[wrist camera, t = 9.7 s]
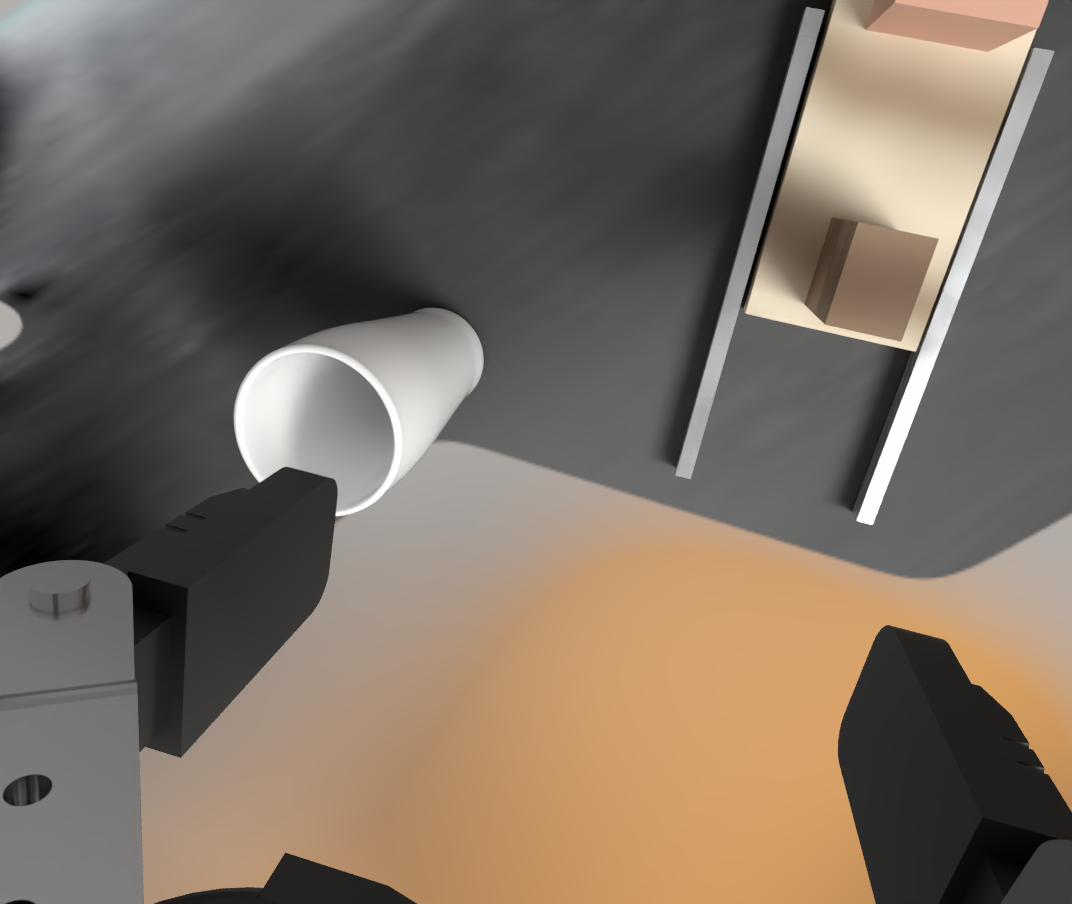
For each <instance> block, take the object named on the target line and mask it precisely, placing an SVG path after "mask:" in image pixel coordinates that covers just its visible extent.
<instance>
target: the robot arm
mask: <svg viewBox="0 0 1072 904" xmlns="http://www.w3.org/2000/svg"><path fill="white" fill-rule="evenodd" d="M337 497H338V489H337V484H336V481H335V480H334V479H333V478H329V477H325V476H321V475H317V474H314V473H310V472H306V471H302V470H298V469H294V468H291V467H283V468H281V469H279V470H278V471H276V472H275V473H273V474H272V475H270V476H269V477H267V478H266V479H264V480H263V481H261V482H260V483H258V484H257V485H255V486H254V487H252V488H251V489H245V488H241V489H237V490H234V491H230V492H226V493H223V494H219V495H216V496H212V497H209V498H207V499H206V500H204V501H203V502H201V503H200V504H198V505H196V506H195V507H193V508H192V509H190V510H188V511H187V512H186V514H185V516H183V515H180V516H179V517H177V518H176V519H174V520H172V521H171V522H169V523H168V524H166V527H165V528H160V529H158V530H156V531H155V532H153V533H152V534H150V535H149V536H147V537H145V538H144V539H142V540H141V541H139V542H137V543H136V544H134V545H133V546H131V547H129V548H128V549H126V550H125V551H123V552H121V553H120V554H118V555H117V556H115V557H113V558H112V559H110V560H109V561H107V562H105V563H104V564H101V563H97V562H90V561H78V560H67V561H53V562H46V563H40V564H36V565H32V566H28V567H25V568H22V569H19V570H16V571H14V572H11V573H9V574H7V575H5V576H3V577H2V578H0V904H144V895H143V894H144V893H143V861H142V826H141V793H140V761H139V752H140V751H141V750H142V749H143V748H144V747H148V748H151V749H155V750H158V751H161V752H164V753H167V754H170V755H174V756H177V757H180V758H181V757H182V756H183V755H184V754H185V752H186V751H187V750H188V749H189V748H190V747H191V746H192V745H193V744H194V743H195V742H196V740H197V739H198V738H199V737H200V736H201V735H202V734H203V733H204V732H205V730H206V729H207V728H208V727H209V726H210V725H211V724H212V723H213V722H214V721H215V719H216V718H217V717H218V716H219V715H220V714H221V713H222V712H223V711H224V709H225V708H226V707H227V706H228V705H229V704H230V703H231V702H232V700H234V698H235V697H236V696H237V695H238V694H239V693H240V692H241V691H242V690H243V689H244V687H245V686H246V685H247V684H248V683H249V682H250V681H251V680H252V679H253V678H254V676H255V675H256V674H257V673H258V672H259V671H260V670H261V668H262V667H263V666H264V665H265V664H266V663H267V662H268V661H269V660H270V659H271V658H272V656H273V655H274V654H275V653H276V652H277V651H278V650H279V649H280V648H281V647H282V646H283V644H284V643H285V642H286V641H287V640H288V639H289V638H290V637H291V636H292V634H293V633H294V632H295V631H296V630H297V629H298V628H299V627H300V626H301V625H302V623H303V622H304V621H305V620H306V619H307V618H308V617H309V616H310V615H311V614H312V612H313V611H314V609H315V608H316V607H317V605H318V603H319V601H320V599H321V597H322V595H323V592H324V589H325V586H326V583H327V580H328V575H329V567H330V559H331V550H332V540H333V532H334V524H335V515H336V507H337ZM838 758H839V764H840V768H841V772H842V776H843V779H844V784H845V787H846V791H847V795H848V799H849V802H850V806H851V810H852V814H853V818H854V822H855V825H856V829H857V833H858V837H859V841H860V845H861V849H862V852H863V856H864V860H865V864H866V868H867V871H868V875H869V879H870V883H871V887H872V891H873V894H874V898H875V902H876V904H1072V812H1071V810H1070V809H1069V807H1068V806H1067V804H1066V802H1065V801H1064V799H1063V798H1062V796H1061V794H1060V793H1059V791H1058V789H1057V788H1056V786H1055V785H1054V783H1053V781H1052V780H1051V778H1050V776H1049V775H1047V774H1044V767H1043V765H1042V763H1041V762H1040V760H1039V759H1038V757H1037V755H1036V754H1035V752H1034V751H1033V750H1031V749H1029V743H1028V741H1027V739H1026V738H1025V736H1024V734H1023V733H1022V731H1021V730H1020V728H1019V727H1018V725H1017V723H1016V721H1015V720H1014V718H1013V717H1012V715H1011V714H1010V713H1009V712H1008V711H1007V710H1006V709H1004V708H1003V707H1002V706H1001V705H1000V704H999V703H998V702H997V701H996V700H995V699H994V698H993V697H991V696H990V695H989V694H988V693H987V692H986V691H985V690H984V689H983V688H982V687H981V686H977V685H974V684H971V682H970V680H969V679H968V677H967V675H966V673H965V672H964V670H963V668H962V666H961V665H960V663H959V661H958V659H957V658H956V656H955V654H954V653H953V651H952V649H951V647H950V646H949V644H948V643H947V642H946V641H945V640H943V639H939V638H935V637H932V636H928V635H924V634H920V633H916V632H912V631H909V630H905V629H901V628H897V627H893V626H889V625H887V626H885V627H883V628H882V629H881V630H880V632H879V633H878V634H877V636H876V638H875V640H874V642H873V645H872V647H871V650H870V652H869V655H868V657H867V660H866V662H865V664H864V667H863V669H862V672H861V674H860V677H859V679H858V682H857V684H856V687H855V689H854V692H853V694H852V696H851V699H850V701H849V704H848V706H847V709H846V712H845V714H844V717H843V720H842V723H841V727H840V733H839V740H838ZM155 904H416V903H415V902H413V901H412V900H410V899H408V898H407V897H405V896H404V895H402V894H400V893H399V892H397V891H395V890H394V889H392V888H391V887H389V886H387V885H384V884H381V883H377V882H375V881H371V880H368V879H365V878H362V877H359V876H356V875H353V874H350V873H347V872H343V871H340V870H337V869H334V868H331V867H328V866H325V865H322V864H319V863H316V862H312V861H309V860H306V859H303V858H300V857H297V856H294V855H290V854H288V853H285V854H284V856H283V857H282V859H281V860H280V862H279V864H278V865H277V867H276V869H275V870H274V872H273V873H272V875H271V877H270V878H269V880H268V881H267V883H266V885H265V886H264V888H253V887H247V888H225V889H216V890H209V891H203V892H196V893H190V894H187V895H183V896H179V897H175V898H171V899H167V900H164V901H160V902H157V903H155Z"/></svg>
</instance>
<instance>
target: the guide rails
mask: <svg viewBox="0 0 1072 904" xmlns="http://www.w3.org/2000/svg"><path fill="white" fill-rule="evenodd" d="M824 12H825V10H821V9H815V8H810V7H806V8H805V10H804V11H803V13H802V17H801V20H800V24H799V27H798V31H797V35H796V38H795V42H794V45H793V49H792V53H791V56H790V60H789V63H788V67H787V71H786V74H785V78H784V81H783V85H782V89H781V92H780V96H779V99H778V103H777V106H776V110H775V114H774V117H773V121H772V124H771V128H770V132H769V135H768V139H767V142H766V146H765V150H764V153H763V157H762V160H761V164H760V167H759V171H758V175H757V178H756V182H755V185H754V189H753V193H752V196H751V200H750V203H749V207H748V211H747V214H746V218H745V221H744V225H743V229H742V232H741V236H740V239H739V243H738V246H737V250H736V254H735V257H734V261H733V264H732V268H731V272H730V275H729V279H728V282H727V286H726V290H725V293H724V297H723V300H722V304H721V307H720V311H719V315H718V318H717V322H716V325H715V329H714V333H713V336H712V340H711V343H710V347H709V351H708V354H707V358H706V361H705V365H704V369H703V372H702V376H701V379H700V383H699V386H698V390H697V394H696V397H695V401H694V404H693V408H692V412H691V415H690V419H689V422H688V426H687V430H686V433H685V437H684V440H683V444H682V448H681V451H680V455H679V458H678V462H677V465H676V473H675V475H676V476H680V477H683V478H687V479H691V475H692V472H693V469H694V465H695V462H696V458H697V455H698V451H699V448H700V444H701V441H702V437H703V434H704V430H705V427H706V423H707V420H708V416H709V413H710V409H711V406H712V402H713V399H714V395H715V392H716V388H717V385H718V381H719V378H720V375H721V371H722V368H723V364H724V361H725V357H726V354H727V350H728V347H729V343H730V340H731V336H732V333H733V329H734V326H735V322H736V319H737V315H738V312H739V308H740V305H741V301H742V298H743V294H744V291H745V287H746V284H747V281H748V277H749V274H750V270H751V267H752V263H753V260H754V256H755V253H756V249H757V246H758V242H759V239H760V235H761V232H762V228H763V225H764V221H765V218H766V214H767V211H768V207H769V204H770V200H771V197H772V193H773V190H774V187H775V183H776V180H777V176H778V173H779V169H780V166H781V162H782V159H783V155H784V152H785V148H786V145H787V141H788V138H789V134H790V131H791V127H792V124H793V120H794V117H795V113H796V110H797V106H798V103H799V99H800V96H801V93H802V89H803V86H804V82H805V79H806V75H807V72H808V68H809V65H810V61H811V58H812V54H813V51H814V47H815V44H816V40H817V37H818V33H819V30H820V26H821V23H822V19H823V16H824ZM1053 54H1054V51H1051V50H1045V49H1039V48H1032V49H1030V50H1029V51H1028V54H1027V56H1026V59H1025V62H1024V64H1023V67H1022V70H1021V72H1020V75H1019V78H1018V80H1017V83H1016V86H1015V88H1014V91H1013V94H1012V96H1011V99H1010V102H1009V104H1008V107H1007V110H1006V112H1005V115H1004V118H1003V120H1002V123H1001V126H1000V128H999V131H998V134H997V136H996V139H995V142H994V144H993V147H992V150H991V152H990V155H989V158H988V160H987V163H986V166H985V169H984V171H983V174H982V177H981V179H980V182H979V185H978V187H977V190H976V193H975V195H974V198H973V201H972V203H971V206H970V209H969V211H968V214H967V217H966V219H965V222H964V225H963V227H962V230H961V233H960V235H959V238H958V241H957V243H956V246H955V249H954V251H953V254H952V257H951V259H950V262H949V265H948V267H947V270H946V273H945V275H944V278H943V281H942V283H941V286H940V289H939V291H938V294H937V297H936V299H935V302H934V305H933V307H932V310H931V313H930V315H929V318H928V321H927V323H926V326H925V329H924V332H923V334H922V337H921V340H920V342H919V345H918V348H917V350H916V352H914V351H912V352H911V355H910V357H909V360H908V363H907V365H906V368H905V371H904V373H903V376H902V379H901V381H900V384H899V387H898V389H897V392H896V395H895V398H894V400H893V403H892V406H891V408H890V411H889V414H888V416H887V419H886V422H885V424H884V427H883V430H882V432H881V435H880V438H879V441H878V443H877V446H876V449H875V451H874V454H873V457H872V459H871V462H870V465H869V467H868V470H867V473H866V475H865V478H864V481H863V484H862V486H861V489H860V492H859V494H858V497H857V500H856V502H855V505H854V508H853V510H852V513H853V515H854V517H855V519H856V521H859V522H863V523H867V524H871V525H872V524H873V522H874V519H875V517H876V514H877V511H878V509H879V506H880V504H881V501H882V498H883V496H884V493H885V491H886V488H887V485H888V483H889V480H890V478H891V475H892V472H893V470H894V467H895V465H896V462H897V459H898V457H899V454H900V452H901V449H902V446H903V444H904V441H905V439H906V436H907V433H908V431H909V428H910V426H911V423H912V420H913V418H914V415H915V413H916V410H917V407H918V405H919V402H920V400H921V397H922V394H923V392H924V389H925V387H926V384H927V381H928V379H929V376H930V374H931V371H932V368H933V366H934V363H935V361H936V358H937V355H938V353H939V350H940V348H941V345H942V342H943V340H944V337H945V335H946V332H947V329H948V327H949V324H950V322H951V319H952V316H953V314H954V311H955V309H956V306H957V303H958V301H959V298H960V296H961V293H962V290H963V288H964V285H965V283H966V280H967V277H968V275H969V272H970V270H971V267H972V265H973V262H974V259H975V257H976V254H977V252H978V249H979V246H980V244H981V241H982V239H983V236H984V233H985V231H986V228H987V226H988V223H989V220H990V218H991V215H992V213H993V210H994V207H995V205H996V202H997V200H998V197H999V194H1000V192H1001V189H1002V187H1003V184H1004V181H1005V179H1006V176H1007V174H1008V171H1009V168H1010V166H1011V163H1012V161H1013V158H1014V155H1015V153H1016V150H1017V148H1018V145H1019V142H1020V140H1021V137H1022V135H1023V132H1024V129H1025V127H1026V124H1027V122H1028V119H1029V116H1030V114H1031V111H1032V109H1033V106H1034V103H1035V101H1036V98H1037V96H1038V93H1039V90H1040V88H1041V85H1042V83H1043V80H1044V77H1045V75H1046V72H1047V70H1048V67H1049V64H1050V62H1051V59H1052V57H1053Z"/></svg>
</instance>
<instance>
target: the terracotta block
mask: <svg viewBox="0 0 1072 904" xmlns="http://www.w3.org/2000/svg"><path fill="white" fill-rule="evenodd" d="M1048 1H1049V0H875V1H874V4H873V8H872V11H871V14H870V17H869V21H868V24H867V27H866V30H868V31H874V32H880V33H885V34H891V35H896V36H902V37H907V38H913V39H918V40H924V41H929V42H935V43H941V44H946V45H952V46H957V47H963V48H968V49H974V50H979V51H985V52H989V51H991V50H993V49H995V48H998V47H1000V46H1002V45H1004V44H1006V43H1008V42H1010V41H1012V40H1014V39H1016V38H1018V37H1021V36H1023V35H1025V34H1027V33H1029V32H1031V31H1033V30H1035V29H1037V28H1039V25H1040V22H1041V20H1042V17H1043V14H1044V12H1045V9H1046V6H1047V4H1048Z"/></svg>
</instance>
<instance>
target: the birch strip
mask: <svg viewBox="0 0 1072 904" xmlns="http://www.w3.org/2000/svg"><path fill="white" fill-rule="evenodd" d="M874 1H875V0H833V1H832V5H831V8H830V12H829V15H828V19H827V22H826V26H825V29H824V33H823V36H822V39H821V43H820V46H819V50H818V53H817V57H816V60H815V64H814V67H813V71H812V74H811V78H810V81H809V84H808V88H807V91H806V95H805V98H804V102H803V105H802V109H801V112H800V116H799V119H798V122H797V126H796V129H795V133H794V136H793V140H792V143H791V147H790V150H789V154H788V157H787V161H786V164H785V167H784V171H783V174H782V178H781V181H780V185H779V188H778V192H777V195H776V199H775V202H774V205H773V209H772V212H771V216H770V219H769V223H768V226H767V230H766V233H765V237H764V240H763V244H762V247H761V250H760V254H759V257H758V261H757V264H756V268H755V271H754V275H753V278H752V282H751V285H750V288H749V292H748V295H747V299H746V302H745V306H744V311H745V314H750V315H754V316H759V317H763V318H767V319H772V320H776V321H781V322H785V323H790V324H794V325H799V326H803V327H808V328H812V329H816V330H821V331H825V332H830V333H834V334H839V335H843V336H848V337H852V338H856V339H861V340H865V341H870V342H874V343H879V344H883V345H888V346H892V347H897V348H901V349H905V350H910V351H914V352H916V350H917V348H918V345H919V342H920V340H921V337H922V334H923V332H924V329H925V326H926V323H927V321H928V318H929V315H930V313H931V310H932V307H933V305H934V302H935V299H936V297H937V294H938V291H939V289H940V286H941V283H942V281H943V278H944V275H945V273H946V270H947V267H948V265H949V262H950V259H951V257H952V254H953V251H954V249H955V246H956V243H957V241H958V238H959V235H960V233H961V230H962V227H963V225H964V222H965V219H966V217H967V214H968V211H969V209H970V206H971V203H972V201H973V198H974V195H975V193H976V190H977V187H978V185H979V182H980V179H981V177H982V174H983V171H984V169H985V166H986V163H987V160H988V158H989V155H990V152H991V150H992V147H993V144H994V142H995V139H996V136H997V134H998V131H999V128H1000V126H1001V123H1002V120H1003V118H1004V115H1005V112H1006V110H1007V107H1008V104H1009V102H1010V99H1011V96H1012V94H1013V91H1014V88H1015V86H1016V83H1017V80H1018V78H1019V75H1020V72H1021V70H1022V67H1023V64H1024V62H1025V59H1026V56H1027V54H1028V51H1029V48H1030V46H1031V43H1032V40H1033V38H1034V35H1035V32H1036V30H1037V29H1035V30H1033V31H1031V32H1029V33H1027V34H1025V35H1023V36H1021V37H1018V38H1016V39H1014V40H1012V41H1010V42H1008V43H1006V44H1004V45H1002V46H1000V47H998V48H995V49H993V50H991V51H989V52H985V51H979V50H974V49H968V48H963V47H957V46H952V45H946V44H941V43H935V42H929V41H924V40H918V39H913V38H907V37H902V36H896V35H891V34H885V33H880V32H874V31H868V30H866V27H867V24H868V21H869V17H870V14H871V11H872V8H873V4H874Z"/></svg>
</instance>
